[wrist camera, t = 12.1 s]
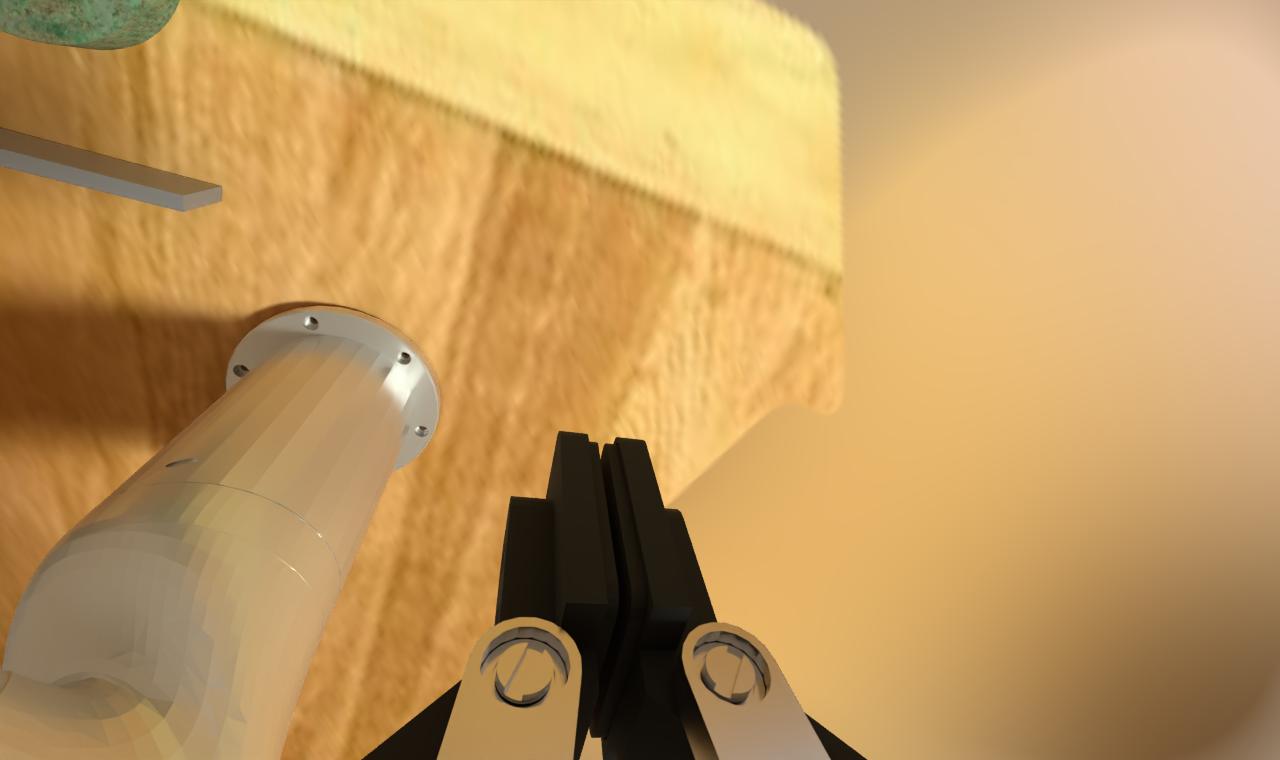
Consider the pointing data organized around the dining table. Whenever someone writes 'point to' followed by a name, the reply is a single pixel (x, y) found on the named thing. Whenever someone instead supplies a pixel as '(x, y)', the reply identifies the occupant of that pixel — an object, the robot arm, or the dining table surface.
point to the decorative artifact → (86, 21)
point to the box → (104, 173)
